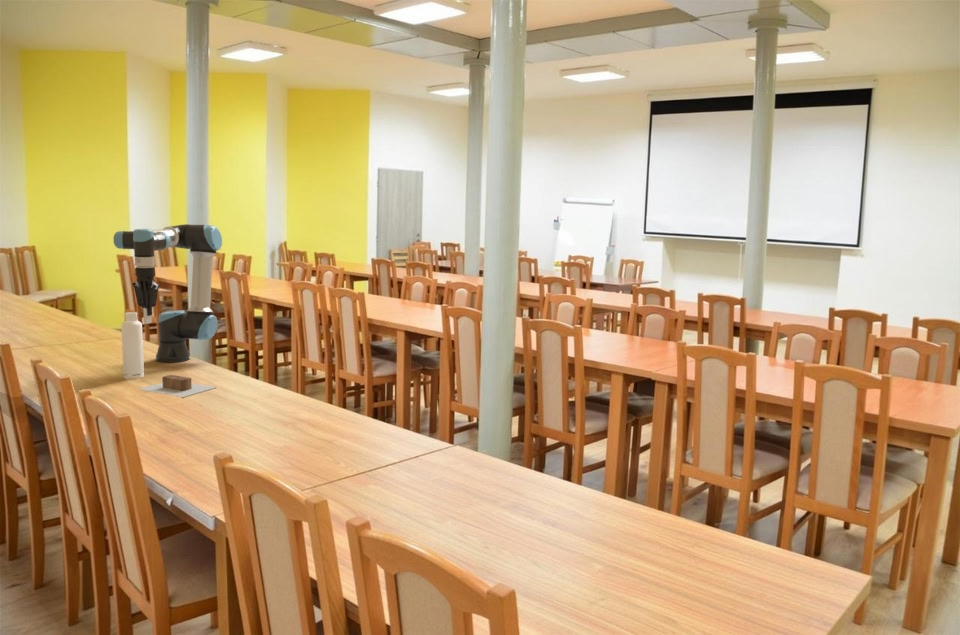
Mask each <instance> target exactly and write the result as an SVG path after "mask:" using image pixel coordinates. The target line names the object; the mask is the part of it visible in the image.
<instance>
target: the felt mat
mask: <svg viewBox="0 0 960 635" xmlns="http://www.w3.org/2000/svg"><path fill="white" fill-rule="evenodd" d="M191 386H192V389H189V390H185V391H179V390H174V389H168V388H163V382H160V383H157V384H152V385H149V386H145V387H142V388H138V390H140V391H145V392H150V393H156V394H161V395H168V396H174V397H179V398H181V399H185V398H188V397H191V396H195V395H198V393H199V394H201V393H205V392H208V391H211V390H215V389H217V386H212V385H211V386H210V385H205V384H198V383H193V382H191Z"/></svg>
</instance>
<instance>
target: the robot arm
mask: <svg viewBox="0 0 960 635" xmlns="http://www.w3.org/2000/svg"><path fill="white" fill-rule="evenodd" d="M222 237H223V236H222V234H221V231H220V229H219V228H218V227H217V226H215V225H211V224H179V225H169V226H166V227H165V226H164V227H163V228H161V229H151V228H136V229H134V230H132V231H130V230H129V231H128V230H127V231H125V230H121V231H120V230H119V231H118V230H117V231H116V232H115V233H114V234H113V244H114V247H115V248H116V249H121V250H133V254H134V256H133V258H134V266H135V268H134V275H135V277H136V281H135V282H132V287H133V289H134V291H135V292H134V293H135V298H136V301H137V305H138V306H139V307H141V308H142V316H143V324H146V325H147V324H151V323H153V319H152V317H153V307H156V305H157V299H158V292H159V289H160V284H159V283H158V284H157V283H156V282H155V281H156V280H155V279H154V278H155V276H156V268H155V267H154V266H155V265H156V263H155V261H156V260H155V251H163V250H166V249H168V248H176V249H177V248H178V249H184V250H190V251H189V253H190V254H191V255H192V258H193V259H192V273H191V274H192V278H191V279H192V280H191V294H190V307H189V308H188V309H187V310H186V312H185V310H181V309H180V310H179V309H178V310H172V311H166V312H161V313H160V314H159V315H158V319H157V320H158V322H157V324H158V341H159V343H158V348H157V352H156V355H155V360H156V362H160V363H180V362H185V361H189V360H190V359H191V354H190V352H189V349H188V345H187V342H186V340H199V341H203V340H210V339H212V338H213V337H214V336H215V334H216V332H217V329H218V326H219V325H218V322H219V321H218V318H217V316H216V315H214V311H213V310H212V308H211V296H212V277H213V262H214V261H213V258H215V256H216V255H217V252H218V251H220V250H221V248H222V246H223V238H222ZM189 357H190V358H189Z"/></svg>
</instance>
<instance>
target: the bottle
mask: <svg viewBox="0 0 960 635" xmlns="http://www.w3.org/2000/svg"><path fill="white" fill-rule="evenodd" d="M124 316H125V321H123V322H122V323H121V342H122V343H121V346H122V368H123V379H125V380H132V379H134V380H135V379H140V378H143V377H145V365H144V364H145V363H144V340H143V339H144V338H143V324H142V322H141V321H139V319H138V312H137V311H128V312H125V313H124Z"/></svg>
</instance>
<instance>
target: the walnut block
mask: <svg viewBox="0 0 960 635" xmlns="http://www.w3.org/2000/svg"><path fill="white" fill-rule="evenodd" d="M162 383H163V388H168V389H174V390H179V391H185V390H189V389H192V386H191V383H192V377H188V376H181V375H176V374H169V375H165V376H162Z"/></svg>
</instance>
